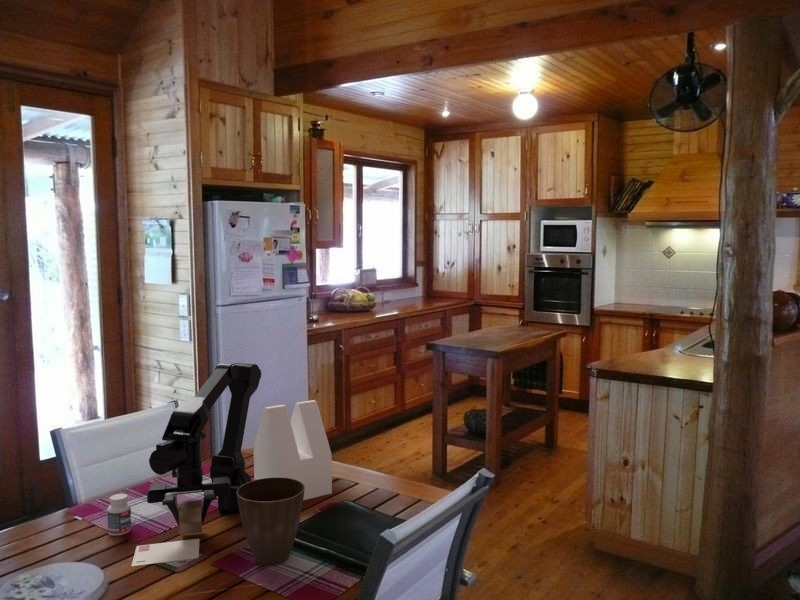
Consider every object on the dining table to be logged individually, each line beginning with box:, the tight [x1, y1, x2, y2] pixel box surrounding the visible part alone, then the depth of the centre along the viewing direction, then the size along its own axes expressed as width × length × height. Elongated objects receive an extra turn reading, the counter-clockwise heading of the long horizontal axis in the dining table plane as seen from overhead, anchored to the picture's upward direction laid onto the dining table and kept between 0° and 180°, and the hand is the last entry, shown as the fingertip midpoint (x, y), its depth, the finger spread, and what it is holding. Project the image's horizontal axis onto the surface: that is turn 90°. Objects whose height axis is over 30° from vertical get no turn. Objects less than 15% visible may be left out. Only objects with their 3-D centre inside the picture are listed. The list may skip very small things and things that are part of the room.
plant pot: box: [236, 477, 305, 567], centre depth 145 cm, size 15×15×16 cm
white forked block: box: [253, 399, 333, 501], centre depth 186 cm, size 19×15×25 cm
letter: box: [130, 538, 200, 567], centre depth 148 cm, size 14×10×1 cm
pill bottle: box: [106, 493, 132, 536], centre depth 159 cm, size 5×5×9 cm
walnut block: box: [178, 499, 203, 535], centre depth 155 cm, size 5×5×6 cm
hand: (190, 524), depth 156 cm, fingers closed on walnut block, 5 cm apart
